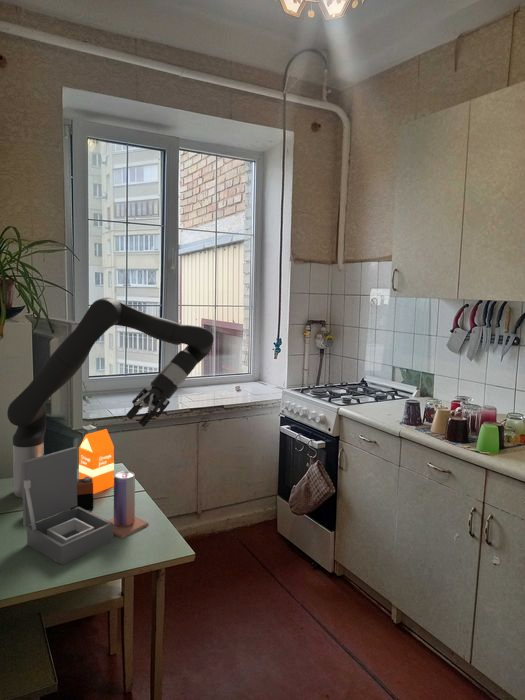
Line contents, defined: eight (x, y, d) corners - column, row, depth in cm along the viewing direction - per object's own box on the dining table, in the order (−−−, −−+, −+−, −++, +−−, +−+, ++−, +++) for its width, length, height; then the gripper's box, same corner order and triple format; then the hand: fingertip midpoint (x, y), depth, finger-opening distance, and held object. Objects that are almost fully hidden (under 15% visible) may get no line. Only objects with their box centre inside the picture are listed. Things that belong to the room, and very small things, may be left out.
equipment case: (23, 542, 138) (20, 461, 135) (75, 520, 151) (74, 446, 148) (61, 565, 128) (59, 479, 125) (113, 540, 141) (113, 461, 138)
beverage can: (115, 529, 145) (115, 479, 143) (112, 520, 151) (112, 472, 149) (136, 526, 148) (136, 477, 146) (132, 517, 153) (133, 469, 151)
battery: (93, 510, 158) (93, 479, 157) (70, 513, 156) (70, 482, 154) (92, 504, 162) (92, 474, 161) (70, 506, 160) (69, 476, 158)
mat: (99, 527, 148) (99, 524, 148) (126, 515, 156) (126, 512, 156) (121, 538, 142) (121, 535, 142) (148, 525, 150) (148, 522, 150)
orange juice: (78, 488, 174) (78, 432, 171) (100, 480, 181) (99, 426, 178) (93, 494, 169) (92, 437, 167) (114, 486, 177) (114, 431, 174)
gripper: (150, 368, 160) (116, 408, 154) (173, 376, 149) (136, 419, 143) (165, 383, 164) (132, 422, 158) (188, 392, 153) (153, 434, 147)
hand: (134, 421), depth 151 cm, fingers open, 8 cm apart
